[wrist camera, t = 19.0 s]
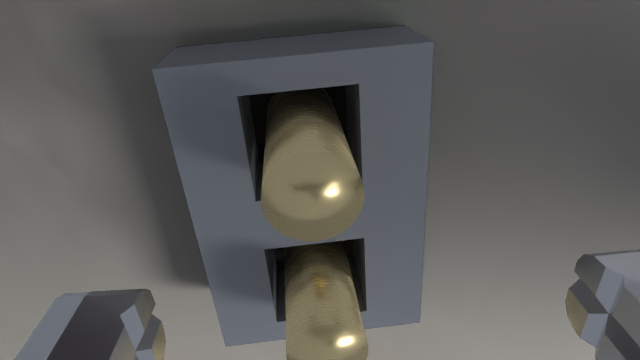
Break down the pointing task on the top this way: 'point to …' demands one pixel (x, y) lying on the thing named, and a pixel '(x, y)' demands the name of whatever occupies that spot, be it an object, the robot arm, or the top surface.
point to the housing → (247, 170)
